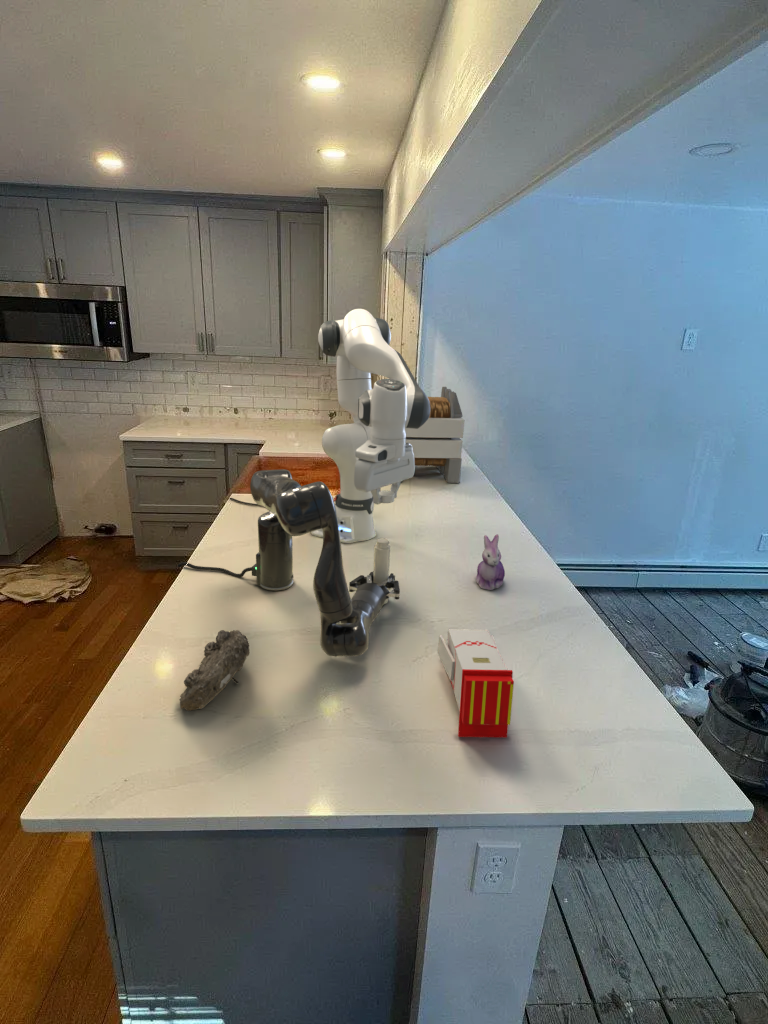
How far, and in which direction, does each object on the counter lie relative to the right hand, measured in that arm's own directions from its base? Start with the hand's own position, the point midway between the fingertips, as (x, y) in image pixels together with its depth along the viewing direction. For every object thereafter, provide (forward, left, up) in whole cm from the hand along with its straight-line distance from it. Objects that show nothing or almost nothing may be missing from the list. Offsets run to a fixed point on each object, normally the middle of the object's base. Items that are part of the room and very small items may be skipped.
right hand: (384, 500), depth 144 cm
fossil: (-22, -45, -29) cm, 58 cm away
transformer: (-18, +129, -29) cm, 133 cm away
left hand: (0, +3, -22) cm, 22 cm away
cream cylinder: (0, 0, -29) cm, 29 cm away
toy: (+29, -31, -29) cm, 51 cm away
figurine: (+27, +21, -29) cm, 45 cm away
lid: (0, 0, +2) cm, 2 cm away
